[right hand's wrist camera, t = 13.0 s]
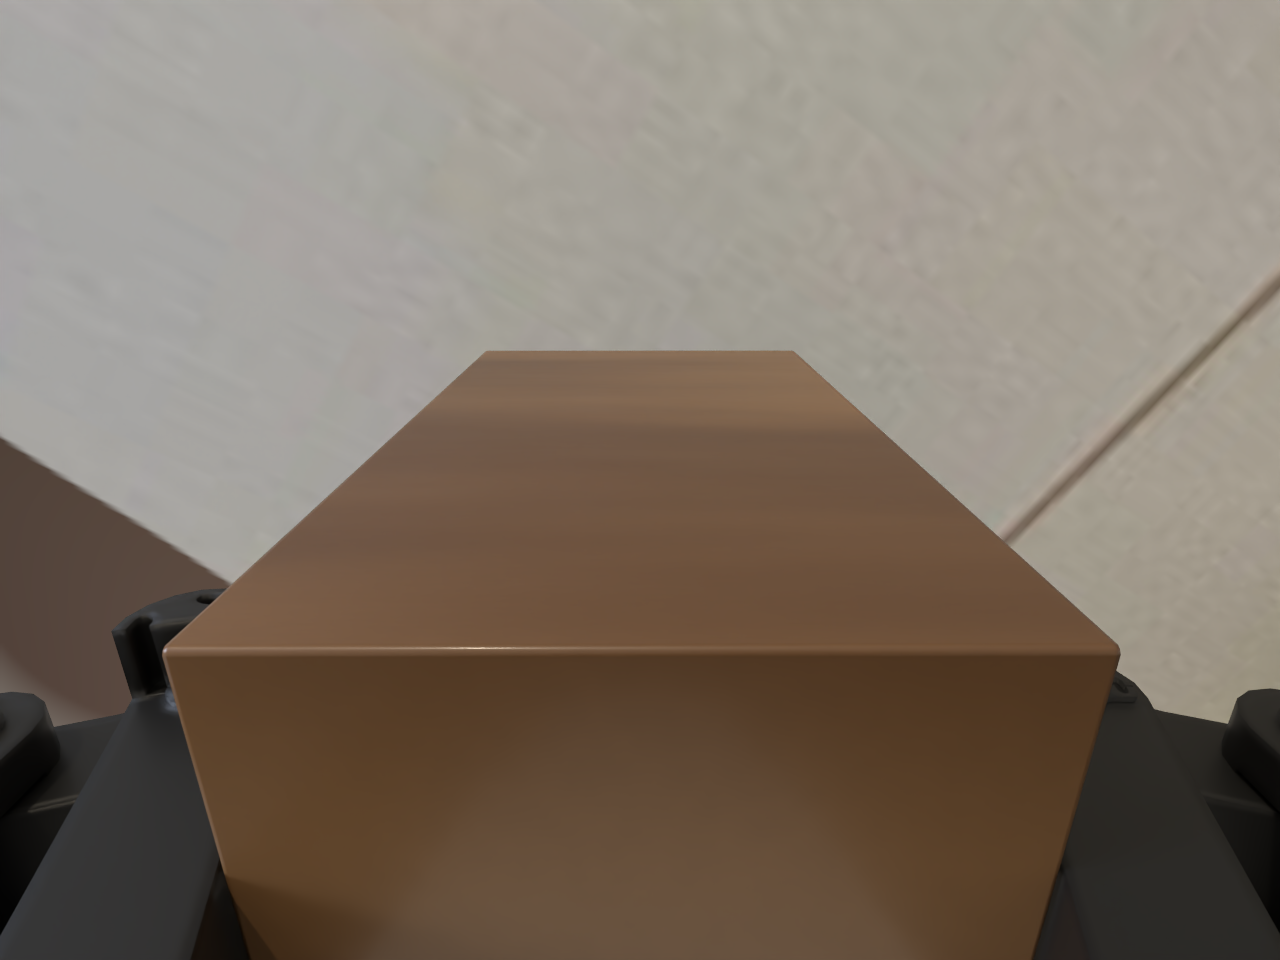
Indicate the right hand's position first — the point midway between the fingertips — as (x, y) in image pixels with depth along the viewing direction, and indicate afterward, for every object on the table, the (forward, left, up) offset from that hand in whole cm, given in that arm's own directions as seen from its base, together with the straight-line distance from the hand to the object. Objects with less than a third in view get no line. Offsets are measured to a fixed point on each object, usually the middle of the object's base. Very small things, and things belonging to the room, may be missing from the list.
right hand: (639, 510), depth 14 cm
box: (-6, +5, -1) cm, 8 cm away
